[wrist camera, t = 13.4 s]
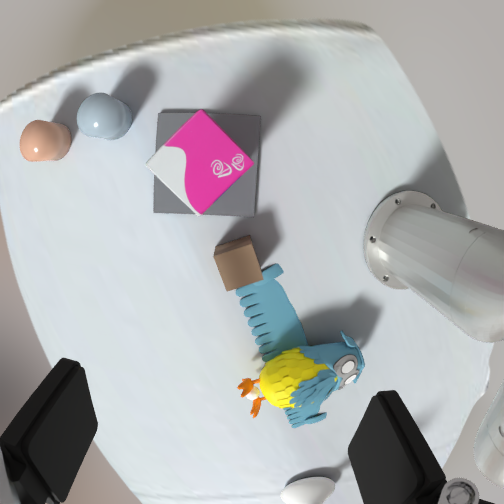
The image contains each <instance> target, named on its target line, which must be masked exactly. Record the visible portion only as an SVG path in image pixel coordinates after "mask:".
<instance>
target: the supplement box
mask: <svg viewBox="0 0 504 504" xmlns="http://www.w3.org/2000/svg"><path fill="white" fill-rule="evenodd" d="M145 165H146V166H147V167H148V168H149V169H150V171H152V172H153V173H154V174H155V175H156V176H157V177H158V178H159V179H160V180H161V181H162V182H163V183H164V184H165V185H166V186H167V187H168V188H169V189H170V190H171V191H172V192H173V193H174V194H175V195H176V196H177V197H178V198H180V199H181V200H182V201H183V202H184V203H185V204H186V205H187V206H188V207H189V208H190V209H191V210H192V211H193V212H194V213H195V214H196V215H197V216H198V217H199V216H201V215H202V214H203V213H204V212H205V211H206V210H207V209H208V208H209V207H210V206H211V205H212V204H213V203H214V202H215V201H216V200H217V199H218V198H219V197H220V196H221V195H222V194H224V193H225V192H226V191H227V190H228V189H229V188H230V187H231V186H232V185H233V184H234V183H235V182H236V181H237V180H238V179H239V178H240V177H241V176H242V175H243V174H244V173H245V172H246V171H247V170H248V169H249V168H250V167H252V166H253V165H254V161H253V160H252V159H251V158H250V157H249V156H248V155H247V154H246V153H245V152H244V151H243V150H242V149H241V148H240V147H239V146H238V145H237V144H236V143H235V142H234V140H233V139H232V138H231V137H230V136H229V135H228V134H227V133H226V132H225V131H224V130H223V129H222V128H221V127H220V126H219V125H218V124H217V123H216V122H215V121H214V120H213V119H212V118H211V117H210V116H209V115H208V114H207V113H206V112H205V111H204V110H203V109H200V110H198V111H197V112H196V113H195V114H194V115H193V116H192V117H190V118H189V119H188V120H187V121H186V122H185V123H184V124H183V125H182V126H181V127H180V128H179V129H178V130H177V131H176V132H175V133H174V134H173V135H172V136H171V137H170V138H169V139H168V140H167V141H166V142H165V143H164V144H163V145H162V146H161V147H160V148H159V149H158V150H157V152H156V153H155V154H154V155H153V156H152V157H151V158H150V159H149V160H148V161H147V163H146V164H145Z"/></svg>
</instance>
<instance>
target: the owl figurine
mask: <svg viewBox="0 0 504 504" xmlns="http://www.w3.org/2000/svg"><path fill="white" fill-rule="evenodd" d="M282 273H283V270H282V268H281V267H280V265H279V264H274V265H272V266H271V267H269V268H267V269H266V270H264V271H262V275H263V279H264V280H261V281H258V282H255V283H252V284H249V285H246V286H243V287H240V288H238V289H237V290H236V295H237V296H239V297H241V296H246V295H249V294H251V295H249V296H246V297H244V298H243V299H241V300H240V305H241V306H242V307H247V306H251V305H254V304H256V305H254V306H251V307H249V308H247V309H246V310H245V311H244V315H245V316H246V317H252V316H255V315H258V314H260V315H258V316H255V317H253V318H251V319H249V321H248V325H249V326H251V327H253V326H257V325H260V324H262V325H260V326H258V327H256V328H254V329H253V330H252V335H254V336H258V335H261V334H264V333H267V334H264V335H262V336H260V337H258V338H257V339H256V340H255V343H256V344H257V345H262V344H265V343H267V344H265V345H262V346H261V347H260V348H259V352H260V353H267V352H269V353H267V354H265V355H264V356H263V357H262V360H263V361H264V362H266V363H265V364H266V366H265V367H264V368H263V369H262V371H261V373H260V376H259V379H256V380H253V381H251V379H250V378H246V379H242V381H243V382H242V383H241V384H240V385H239V386H238V389H243V392H242V394H241V397H244V396H246V397H247V398H248V399H250V400H253V407H252V410H251V413H250V415H252V414H253V413H254V415H253V418H255V417H256V416H257V414H258V412H259V409H260V406H261V401H262V400H266V399H267V400H268V401H269V402H270V403H271V404H272V405H274V406H277V407H279V408H283V409H284V410H287V409H289V410H287V411H286V412H285V414H286V415H289V414H291V415H289V416H288V417H287V419H291V420H290V421H289V423H290V424H293V423H295V424H293V425H292V428H296V427H299V426H301V425H304V424H312V423H316V422H319V421H321V420H323V419H325V418H326V415H327V413H323V414H321V415H319V416H316V415H317V414H318V412H319V409H320V405H321V404H322V402H323V401H325V400H326V399H327V398H328V397H329V396H330V394H331V393H332V392H333V391H335V390H337V389H338V390H340V389H342V388H343V387H344V386H346V385H347V384H348V383H350V382H351V381H354V383H356V382H357V379H358V378H359V376H360V374H361V372H362V369H363V368H364V367H365V363H364V359H363V356H362V353H361V351H360V349H359V347H358V346H357V345H356V343H355V341H354V340H353V339H352V338H351V337H348V336H346V335H345V334H344V333H343V331H340V333H341V336H342V337H343V339H344V340H345V341H346V342H337V343H329V344H321V345H314V346H308V343H307V340H306V337H305V334H304V330H303V327H302V324H301V322H300V320H299V319H298V317H297V314H296V312H295V310H294V308H293V306H292V305H291V303H290V301H289V299H288V297H287V295H286V293H285V291H284V289H283V287H282V286H281V285H280V284H279V283H278V282H277V281H276V280H275V279H274V278H276V277H278V276H279V275H281V274H282ZM253 293H254V294H253ZM257 303H258V304H257ZM261 313H262V314H261ZM263 323H264V324H263ZM268 332H269V333H268ZM268 342H269V343H268ZM273 350H274V351H273ZM270 351H272V352H270ZM255 383H259V384H260V389H261V391H262V393H263V395H264V396H265V397H262V398H259V394H260V392H259V389H258V388H257V387H255V386H253V384H255ZM326 396H327V397H326ZM324 399H325V400H324ZM290 408H291V409H290ZM292 413H293V414H292ZM315 416H316V417H315ZM300 421H301V422H300ZM297 422H298V423H297Z"/></svg>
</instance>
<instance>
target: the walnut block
mask: <svg viewBox="0 0 504 504" xmlns="http://www.w3.org/2000/svg"><path fill="white" fill-rule="evenodd" d="M214 259H215V262H216V264H217V267H218V270H219V272H220V275H221V278H222V280H223V283H224V285H225V288H226V291H230V290H233V289H236V288H240V287H243V286H246V285H249V284H252V283H255V282H258V281H261V280H264V279H263V275H262V271H261V268H260V265H259V262H258V259H257V256H256V253H255V250H254V247H253V244H252V241H251V238H250V235H249V236H246V237H243V238H240V239H237V240H234V241H231V242H228V243H225V244H222V245H219V246H216V247H215V252H214Z"/></svg>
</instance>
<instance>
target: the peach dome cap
mask: <svg viewBox="0 0 504 504" xmlns="http://www.w3.org/2000/svg"><path fill="white" fill-rule="evenodd" d="M70 146H71V133H70V131H69V129H68V128H67V127H66V126H65V125H63V124H58V123H53V122H47V121H41V120H35V121H32V122H30V123H29V124H28V125H27V126H26V127H25V129H24V130H23V132H22V135H21V138H20V151H21V154H22V156H23V157H24V158H25V159H26V160H28V161H57V160H60V159H62V158H63V157H64V156H65V155H66V154H67V152H68V151H69V148H70Z"/></svg>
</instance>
